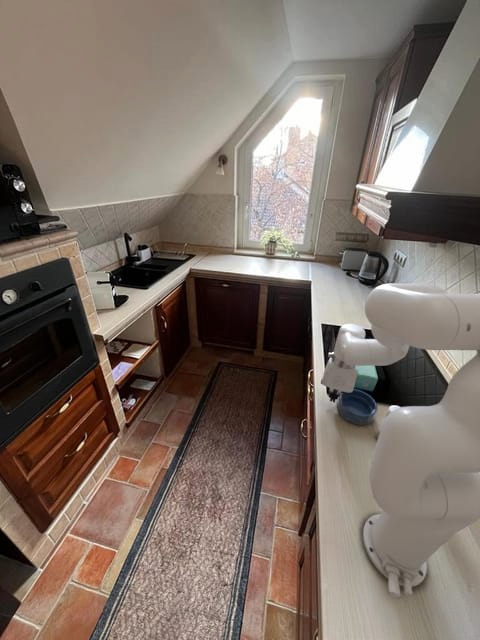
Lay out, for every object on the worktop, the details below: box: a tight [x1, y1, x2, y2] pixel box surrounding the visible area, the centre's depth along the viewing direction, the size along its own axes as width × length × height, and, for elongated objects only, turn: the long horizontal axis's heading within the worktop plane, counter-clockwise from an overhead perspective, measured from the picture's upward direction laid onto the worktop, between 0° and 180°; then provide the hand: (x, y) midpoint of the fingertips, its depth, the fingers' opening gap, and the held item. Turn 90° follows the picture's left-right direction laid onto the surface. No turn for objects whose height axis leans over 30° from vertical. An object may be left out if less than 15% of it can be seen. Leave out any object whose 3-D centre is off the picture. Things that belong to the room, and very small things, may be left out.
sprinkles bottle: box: [376, 405, 402, 440], centre depth 78 cm, size 5×5×14 cm
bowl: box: [336, 388, 378, 426], centre depth 90 cm, size 12×12×5 cm
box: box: [353, 366, 379, 392], centre depth 104 cm, size 7×14×8 cm, turn 164°
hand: (332, 399), depth 92 cm, fingers closed
